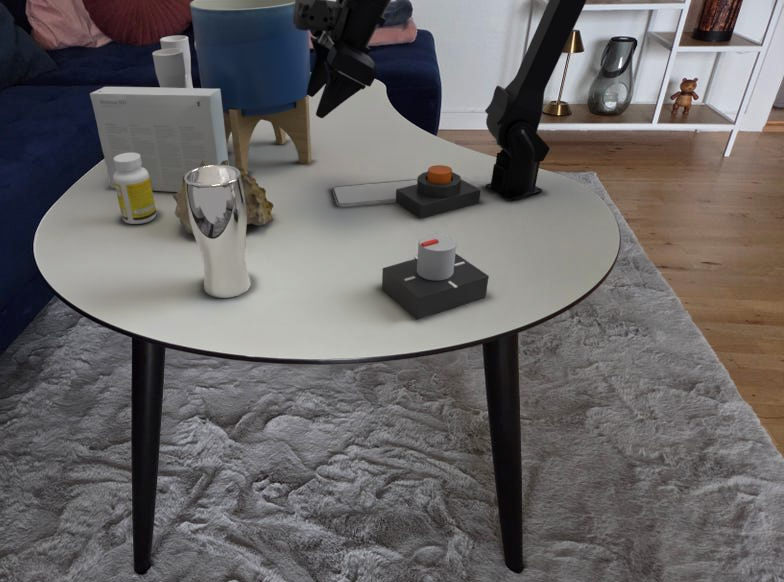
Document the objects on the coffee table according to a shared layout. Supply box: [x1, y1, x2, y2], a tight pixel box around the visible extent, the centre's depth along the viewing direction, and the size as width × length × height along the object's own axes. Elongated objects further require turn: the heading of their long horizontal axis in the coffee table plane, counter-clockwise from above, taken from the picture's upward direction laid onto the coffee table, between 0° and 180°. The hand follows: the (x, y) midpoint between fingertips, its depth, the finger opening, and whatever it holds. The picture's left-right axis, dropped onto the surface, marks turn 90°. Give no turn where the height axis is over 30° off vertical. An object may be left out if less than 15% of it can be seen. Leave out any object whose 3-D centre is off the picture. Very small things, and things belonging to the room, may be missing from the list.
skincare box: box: [89, 86, 230, 193], centre depth 106 cm, size 21×5×16 cm, turn 75°
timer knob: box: [417, 233, 457, 281], centre depth 76 cm, size 4×4×4 cm
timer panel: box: [381, 253, 490, 320], centre depth 78 cm, size 10×9×3 cm
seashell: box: [172, 159, 274, 235], centre depth 94 cm, size 11×14×10 cm
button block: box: [395, 171, 482, 220], centre depth 99 cm, size 11×7×4 cm, turn 116°
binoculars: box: [151, 35, 194, 88], centre depth 123 cm, size 17×5×18 cm, turn 4°
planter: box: [189, 0, 312, 174], centre depth 111 cm, size 19×19×26 cm
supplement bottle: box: [113, 153, 157, 225], centre depth 98 cm, size 5×5×10 cm
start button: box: [427, 164, 453, 184], centre depth 97 cm, size 4×4×2 cm
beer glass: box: [184, 164, 252, 299], centre depth 78 cm, size 7×7×15 cm
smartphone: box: [331, 179, 417, 208], centre depth 104 cm, size 7×1×15 cm
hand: (313, 105), depth 93 cm, fingers open, 9 cm apart
